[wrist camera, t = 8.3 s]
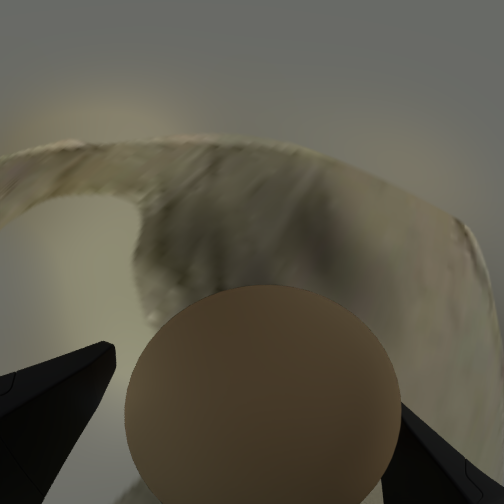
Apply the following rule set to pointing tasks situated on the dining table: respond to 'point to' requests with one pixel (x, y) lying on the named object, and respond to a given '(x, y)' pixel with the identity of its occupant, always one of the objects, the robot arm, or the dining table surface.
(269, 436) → the oak pillar
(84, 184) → the dining table surface
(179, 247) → the dining table surface
